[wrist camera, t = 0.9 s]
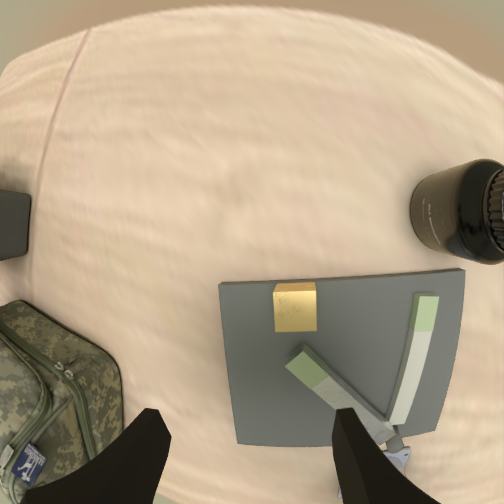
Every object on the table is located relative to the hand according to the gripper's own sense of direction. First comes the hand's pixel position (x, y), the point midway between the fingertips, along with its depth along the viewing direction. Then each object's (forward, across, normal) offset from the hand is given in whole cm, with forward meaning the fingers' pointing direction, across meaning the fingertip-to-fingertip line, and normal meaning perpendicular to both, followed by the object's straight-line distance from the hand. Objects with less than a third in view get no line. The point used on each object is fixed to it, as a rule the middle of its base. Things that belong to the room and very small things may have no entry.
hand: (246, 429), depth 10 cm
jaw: (+10, -7, +9) cm, 15 cm away
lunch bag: (+16, +29, +14) cm, 36 cm away
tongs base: (+12, -7, +9) cm, 17 cm away
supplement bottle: (+15, -16, -5) cm, 23 cm away
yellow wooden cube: (+13, -3, +1) cm, 14 cm away
